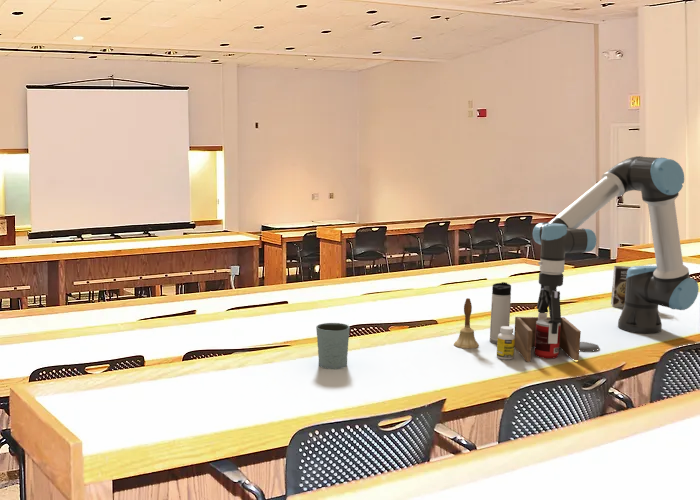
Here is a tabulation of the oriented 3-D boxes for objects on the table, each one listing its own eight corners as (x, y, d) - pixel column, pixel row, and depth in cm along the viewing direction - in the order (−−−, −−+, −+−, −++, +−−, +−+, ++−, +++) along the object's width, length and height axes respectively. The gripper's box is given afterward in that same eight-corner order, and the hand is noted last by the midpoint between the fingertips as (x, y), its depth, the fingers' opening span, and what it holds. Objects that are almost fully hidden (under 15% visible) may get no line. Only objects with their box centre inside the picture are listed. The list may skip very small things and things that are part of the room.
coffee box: (612, 307, 351) (615, 267, 349) (610, 303, 358) (613, 265, 355) (636, 308, 350) (639, 269, 347) (633, 305, 356) (636, 266, 354)
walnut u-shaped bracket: (562, 346, 290) (564, 317, 288) (578, 362, 272) (580, 331, 270) (513, 346, 289) (515, 316, 287) (526, 361, 271) (528, 330, 269)
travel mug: (510, 340, 296) (513, 283, 293) (505, 345, 290) (508, 286, 287) (492, 338, 298) (495, 281, 295) (487, 342, 292) (490, 284, 289)
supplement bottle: (503, 360, 272) (505, 330, 270) (493, 356, 276) (494, 326, 275) (517, 358, 274) (519, 328, 273) (506, 354, 279) (508, 324, 277)
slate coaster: (593, 343, 294) (593, 341, 294) (602, 351, 284) (603, 350, 284) (564, 343, 294) (564, 341, 294) (572, 351, 284) (572, 349, 284)
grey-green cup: (337, 371, 256) (338, 332, 254) (309, 365, 262) (309, 327, 260) (355, 363, 265) (356, 325, 263) (327, 358, 270) (328, 320, 268)
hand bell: (478, 349, 284) (480, 302, 281) (452, 347, 285) (454, 300, 283) (479, 343, 292) (481, 296, 289) (454, 341, 293) (456, 295, 291)
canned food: (556, 352, 282) (559, 319, 281) (560, 359, 274) (562, 325, 273) (533, 351, 283) (534, 318, 281) (535, 358, 275) (537, 324, 273)
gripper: (530, 265, 287) (526, 328, 290) (550, 279, 262) (545, 347, 265) (552, 266, 287) (548, 328, 290) (574, 280, 262) (569, 348, 266)
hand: (546, 337), depth 278 cm, fingers open, 13 cm apart
